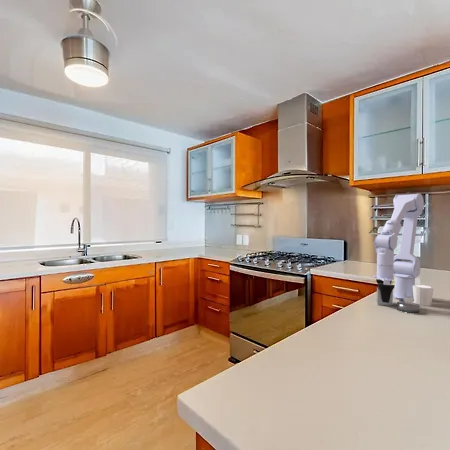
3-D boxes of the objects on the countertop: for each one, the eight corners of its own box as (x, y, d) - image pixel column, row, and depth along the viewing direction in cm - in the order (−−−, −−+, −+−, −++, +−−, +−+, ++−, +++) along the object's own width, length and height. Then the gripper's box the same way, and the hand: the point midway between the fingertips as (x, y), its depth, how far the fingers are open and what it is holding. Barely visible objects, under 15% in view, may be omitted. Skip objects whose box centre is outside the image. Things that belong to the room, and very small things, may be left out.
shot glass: (423, 307, 112) (424, 288, 112) (408, 302, 118) (408, 284, 118) (437, 305, 113) (438, 287, 113) (421, 301, 120) (421, 284, 120)
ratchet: (393, 302, 117) (393, 290, 117) (413, 304, 115) (413, 291, 115) (398, 312, 105) (398, 298, 105) (421, 314, 102) (421, 300, 102)
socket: (376, 301, 118) (376, 286, 118) (390, 303, 116) (391, 288, 116) (377, 304, 114) (378, 289, 113) (392, 306, 112) (392, 290, 112)
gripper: (372, 262, 123) (371, 294, 123) (375, 267, 110) (374, 303, 110) (391, 263, 120) (390, 296, 120) (396, 268, 107) (396, 305, 107)
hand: (384, 299), depth 115 cm, fingers open, 7 cm apart
